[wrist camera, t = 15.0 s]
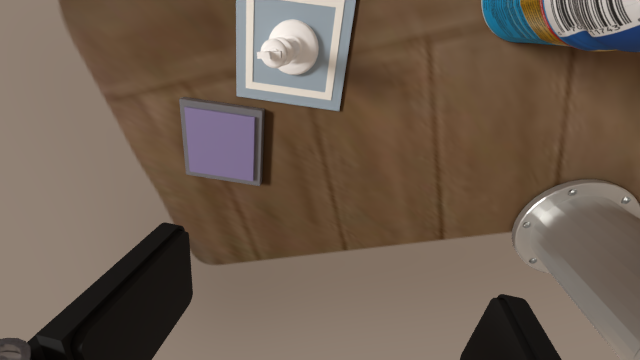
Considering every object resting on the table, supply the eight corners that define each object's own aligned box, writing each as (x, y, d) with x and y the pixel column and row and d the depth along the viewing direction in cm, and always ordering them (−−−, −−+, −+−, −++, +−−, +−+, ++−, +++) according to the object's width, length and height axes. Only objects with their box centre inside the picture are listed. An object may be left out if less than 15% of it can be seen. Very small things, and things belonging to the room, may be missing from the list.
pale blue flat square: (357, -12, 27) (357, -13, 26) (339, 110, 32) (339, 111, 31) (237, -28, 27) (235, -29, 27) (237, 95, 32) (236, 96, 32)
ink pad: (264, 108, 33) (261, 112, 31) (262, 182, 37) (258, 187, 35) (184, 97, 33) (177, 99, 32) (190, 170, 37) (184, 175, 36)
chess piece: (319, 74, 30) (304, 92, 21) (271, 75, 31) (236, 93, 22) (317, 18, 28) (300, 12, 19) (266, 20, 28) (225, 15, 20)
